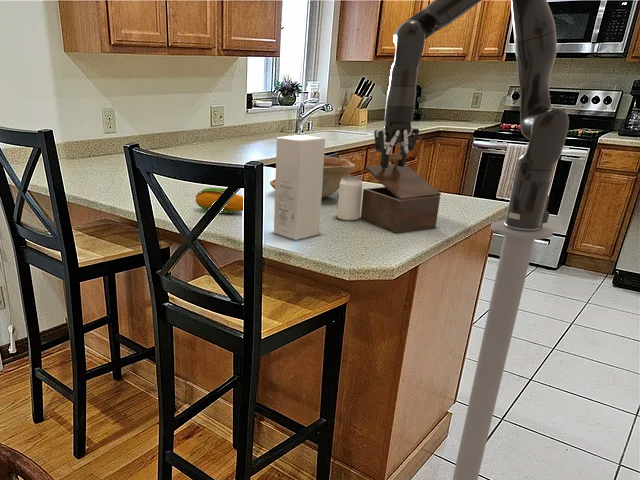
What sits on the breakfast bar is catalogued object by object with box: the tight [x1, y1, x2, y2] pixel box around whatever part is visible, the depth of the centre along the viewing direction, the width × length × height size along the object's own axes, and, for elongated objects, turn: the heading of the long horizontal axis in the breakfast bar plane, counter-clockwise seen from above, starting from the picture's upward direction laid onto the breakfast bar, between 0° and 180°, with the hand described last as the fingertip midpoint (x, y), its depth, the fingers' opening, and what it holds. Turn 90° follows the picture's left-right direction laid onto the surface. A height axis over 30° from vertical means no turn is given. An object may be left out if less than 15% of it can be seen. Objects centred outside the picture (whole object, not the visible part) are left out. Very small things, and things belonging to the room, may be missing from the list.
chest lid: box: [364, 152, 442, 201], centre depth 145 cm, size 18×14×5 cm
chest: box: [360, 186, 441, 234], centre depth 150 cm, size 17×14×9 cm
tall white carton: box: [273, 134, 326, 241], centre depth 137 cm, size 9×9×25 cm
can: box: [337, 175, 363, 222], centre depth 154 cm, size 6×6×12 cm
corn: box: [194, 187, 244, 214], centre depth 161 cm, size 7×8×20 cm
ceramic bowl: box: [269, 155, 356, 199], centre depth 181 cm, size 30×27×15 cm
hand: (392, 166), depth 149 cm, fingers closed on chest lid, 5 cm apart
